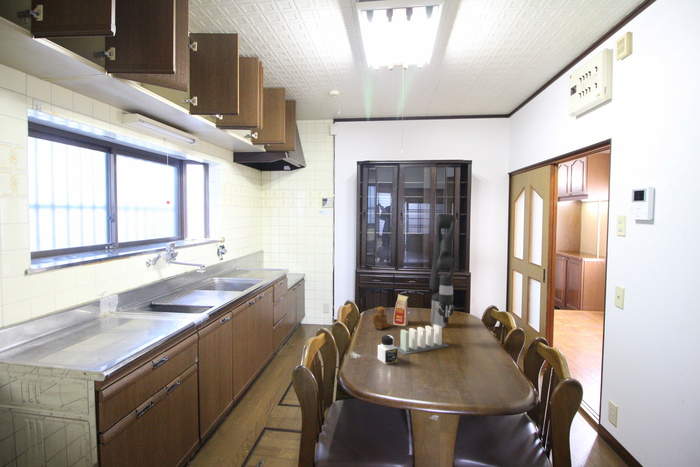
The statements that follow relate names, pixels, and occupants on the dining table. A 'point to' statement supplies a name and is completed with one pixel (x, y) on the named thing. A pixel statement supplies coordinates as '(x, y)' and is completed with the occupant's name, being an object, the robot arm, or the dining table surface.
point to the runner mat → (420, 348)
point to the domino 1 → (404, 340)
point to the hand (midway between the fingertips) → (445, 323)
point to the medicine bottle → (387, 350)
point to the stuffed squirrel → (380, 319)
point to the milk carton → (401, 311)
